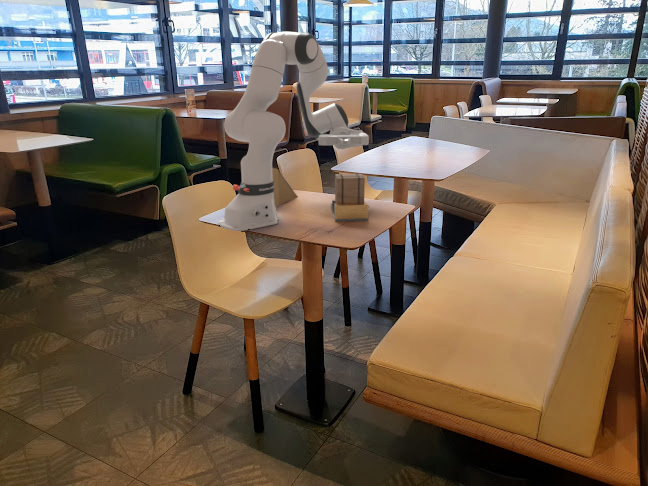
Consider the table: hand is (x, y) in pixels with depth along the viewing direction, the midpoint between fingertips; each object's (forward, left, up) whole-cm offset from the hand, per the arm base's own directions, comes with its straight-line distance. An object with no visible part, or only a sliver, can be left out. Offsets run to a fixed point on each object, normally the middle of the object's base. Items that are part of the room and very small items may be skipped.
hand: (345, 142), depth 191 cm
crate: (-10, -11, -22) cm, 27 cm away
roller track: (-7, -8, -25) cm, 28 cm away
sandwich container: (-10, +27, -26) cm, 39 cm away
